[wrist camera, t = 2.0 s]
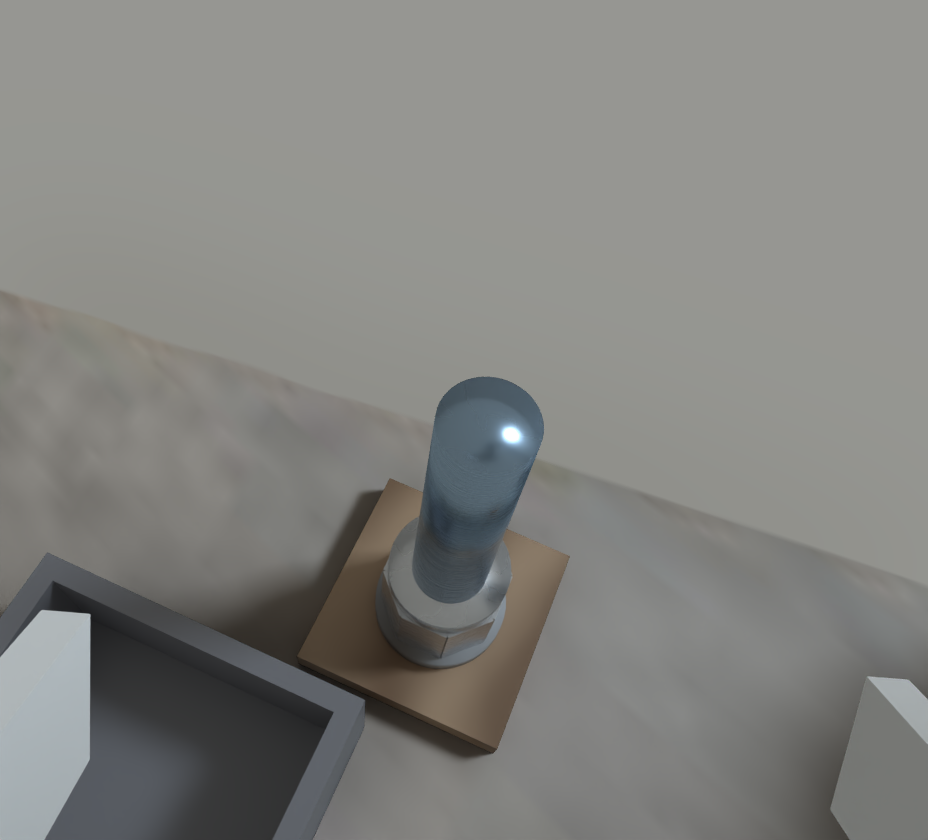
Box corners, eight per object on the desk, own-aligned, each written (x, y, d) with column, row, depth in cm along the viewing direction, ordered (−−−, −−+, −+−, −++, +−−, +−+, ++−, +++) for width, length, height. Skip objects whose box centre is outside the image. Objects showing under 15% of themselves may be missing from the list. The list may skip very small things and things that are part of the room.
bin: (364, 727, 44) (365, 699, 38) (194, 1094, 36) (161, 1135, 30) (88, 598, 45) (47, 552, 39) (-130, 923, 38) (-224, 928, 31)
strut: (512, 572, 46) (599, 389, 29) (471, 673, 43) (541, 533, 27) (413, 528, 46) (443, 325, 30) (366, 625, 44) (371, 460, 27)
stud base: (564, 565, 49) (589, 525, 44) (492, 753, 44) (511, 733, 38) (388, 489, 50) (392, 440, 45) (298, 663, 45) (290, 631, 40)
